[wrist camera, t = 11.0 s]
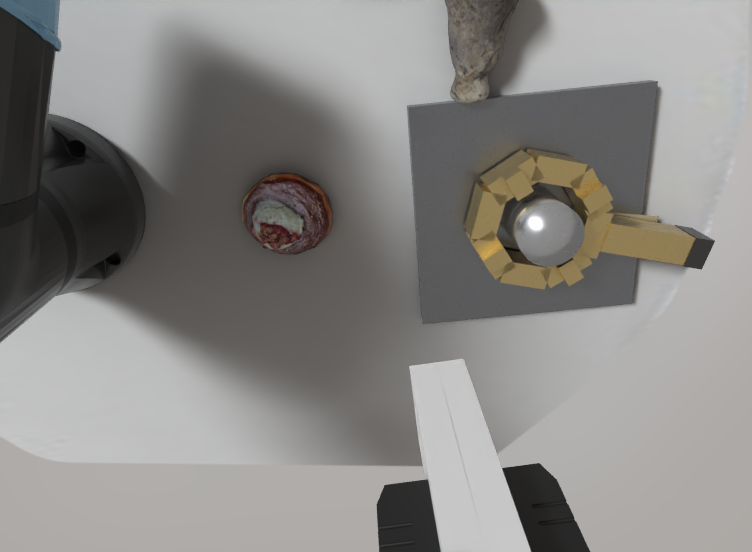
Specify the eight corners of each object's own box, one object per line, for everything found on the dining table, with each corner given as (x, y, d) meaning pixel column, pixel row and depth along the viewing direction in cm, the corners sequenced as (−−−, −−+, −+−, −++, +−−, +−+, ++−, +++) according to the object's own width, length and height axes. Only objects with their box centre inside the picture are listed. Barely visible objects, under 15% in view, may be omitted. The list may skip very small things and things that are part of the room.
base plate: (421, 317, 52) (430, 358, 45) (406, 105, 43) (415, 117, 37) (640, 296, 51) (682, 333, 45) (667, 78, 43) (723, 85, 36)
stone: (478, 107, 45) (564, 65, 38) (439, 117, 41) (526, 73, 35) (438, -10, 43) (520, -72, 37) (394, -9, 40) (477, -78, 34)
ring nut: (454, 262, 48) (463, 282, 44) (486, 140, 43) (499, 150, 39) (661, 295, 49) (687, 317, 46) (712, 182, 45) (745, 195, 41)
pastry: (234, 233, 48) (221, 254, 43) (257, 155, 45) (245, 168, 40) (318, 261, 49) (313, 284, 44) (345, 188, 46) (343, 204, 42)
